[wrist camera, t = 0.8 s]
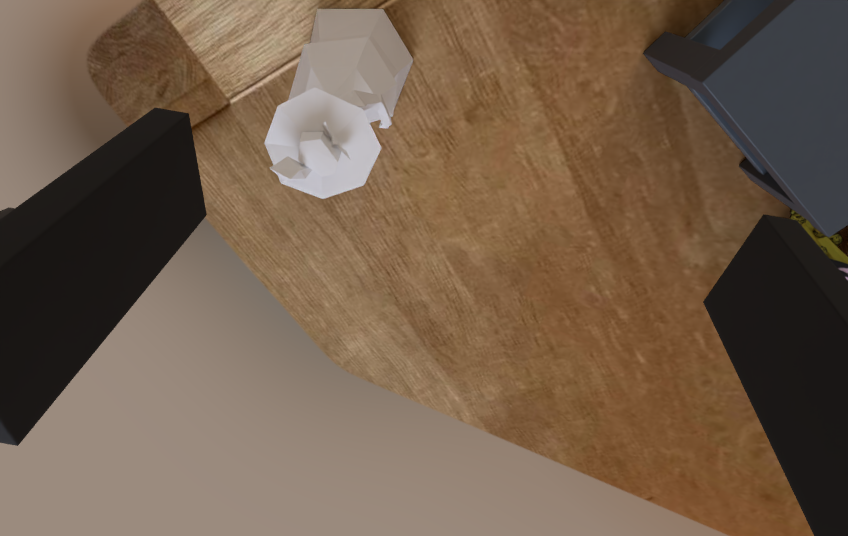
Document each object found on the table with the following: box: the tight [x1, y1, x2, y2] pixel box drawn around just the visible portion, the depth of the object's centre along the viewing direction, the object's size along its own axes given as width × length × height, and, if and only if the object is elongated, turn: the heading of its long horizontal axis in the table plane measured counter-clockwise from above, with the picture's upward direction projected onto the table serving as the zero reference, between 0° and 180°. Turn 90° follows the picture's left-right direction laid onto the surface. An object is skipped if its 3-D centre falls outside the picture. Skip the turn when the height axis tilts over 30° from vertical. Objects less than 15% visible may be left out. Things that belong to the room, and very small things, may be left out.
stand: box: [643, 0, 848, 237], centre depth 29 cm, size 14×14×9 cm
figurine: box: [265, 9, 413, 199], centre depth 26 cm, size 7×8×18 cm
